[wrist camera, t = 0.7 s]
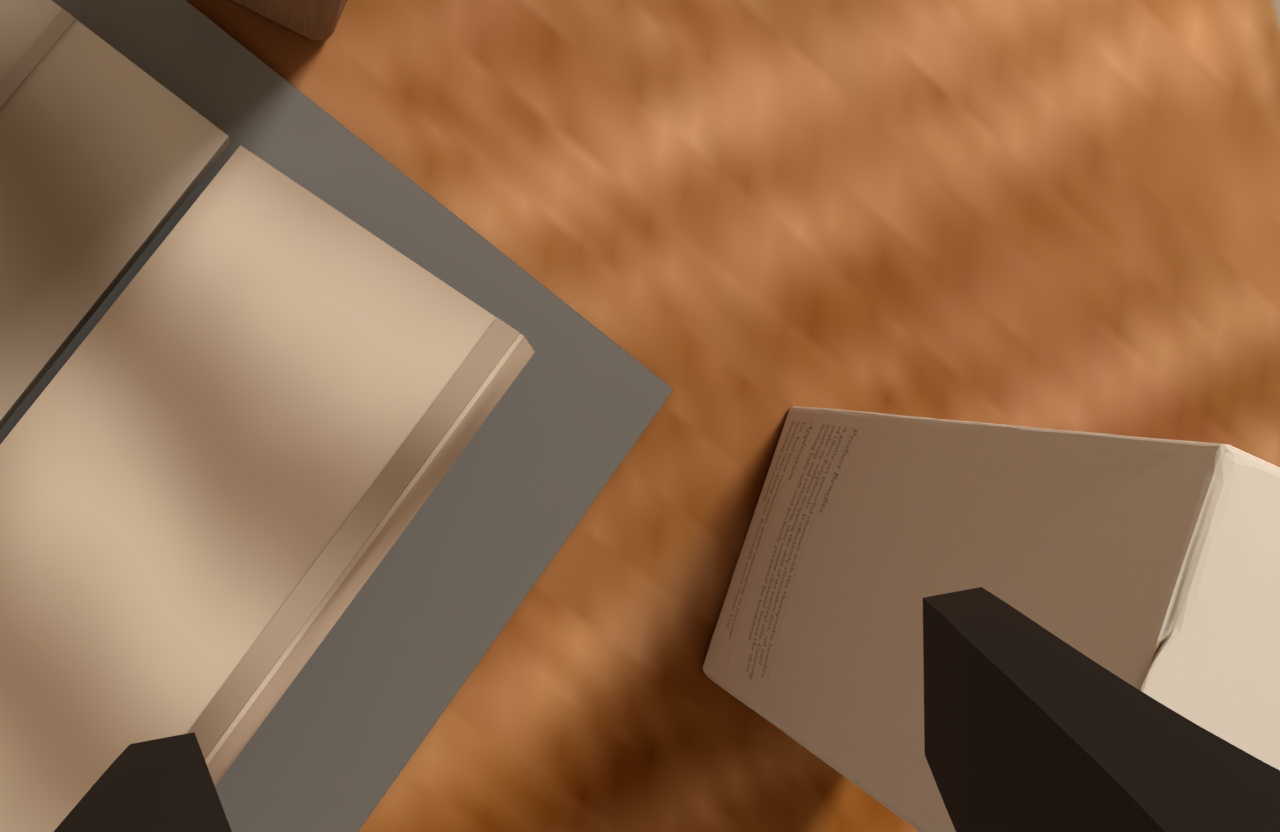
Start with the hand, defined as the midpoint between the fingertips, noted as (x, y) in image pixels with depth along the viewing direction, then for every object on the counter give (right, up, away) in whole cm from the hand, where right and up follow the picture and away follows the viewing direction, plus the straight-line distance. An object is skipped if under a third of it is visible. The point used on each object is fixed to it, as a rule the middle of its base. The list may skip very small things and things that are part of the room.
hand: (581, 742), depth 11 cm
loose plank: (-11, -2, +13) cm, 17 cm away
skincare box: (+6, -1, +22) cm, 22 cm away
